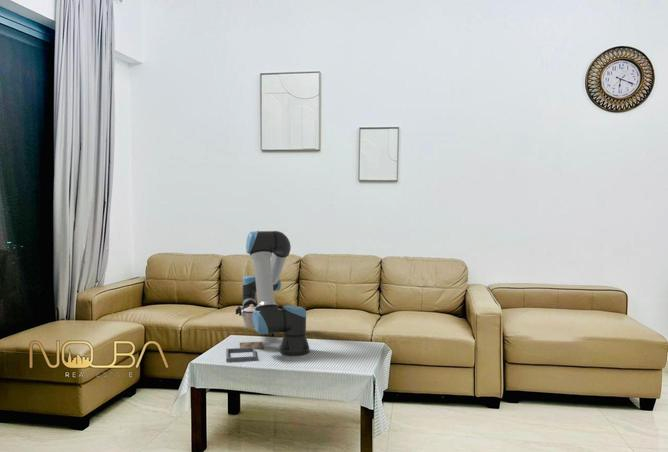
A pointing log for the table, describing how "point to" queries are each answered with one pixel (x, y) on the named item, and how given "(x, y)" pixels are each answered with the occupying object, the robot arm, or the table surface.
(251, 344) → the walnut coaster
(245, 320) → the teacup with lid
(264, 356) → the table surface
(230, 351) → the holder tray
